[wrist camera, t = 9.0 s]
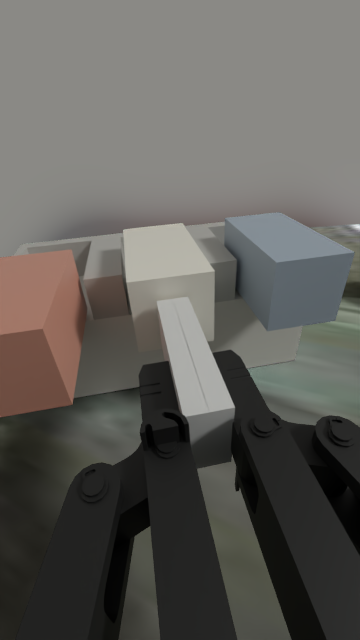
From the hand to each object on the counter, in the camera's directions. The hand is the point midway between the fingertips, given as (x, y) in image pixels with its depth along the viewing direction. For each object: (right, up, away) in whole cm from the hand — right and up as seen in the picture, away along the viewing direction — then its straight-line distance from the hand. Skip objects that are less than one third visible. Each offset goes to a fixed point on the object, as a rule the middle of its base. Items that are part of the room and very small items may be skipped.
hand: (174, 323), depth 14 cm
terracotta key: (-7, -2, +1) cm, 7 cm away
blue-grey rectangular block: (+6, +2, +5) cm, 8 cm away
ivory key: (-1, +1, +4) cm, 5 cm away
